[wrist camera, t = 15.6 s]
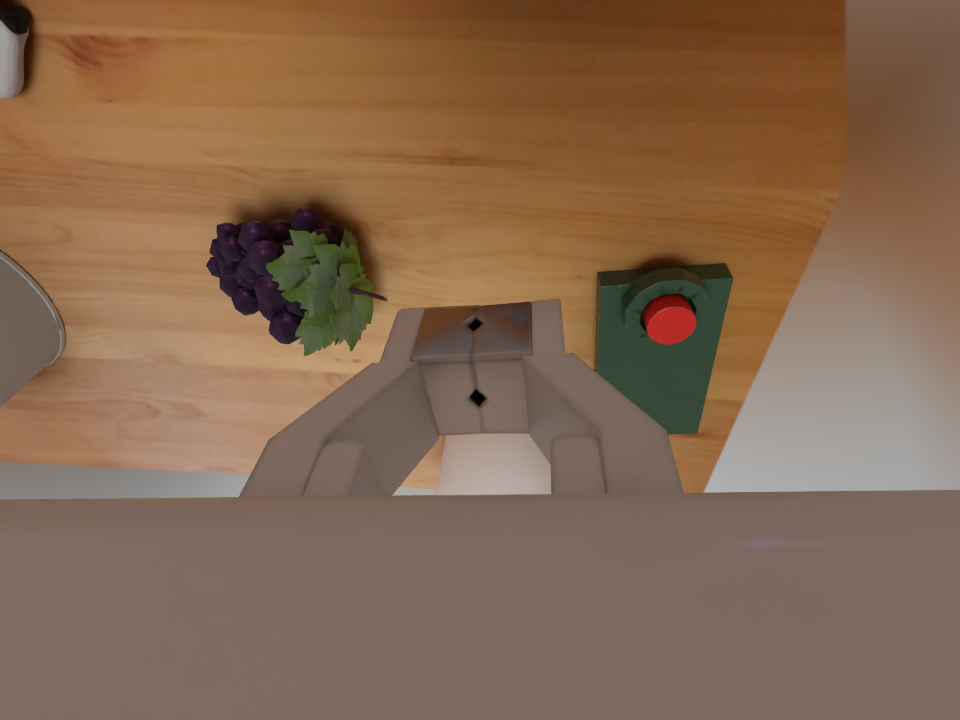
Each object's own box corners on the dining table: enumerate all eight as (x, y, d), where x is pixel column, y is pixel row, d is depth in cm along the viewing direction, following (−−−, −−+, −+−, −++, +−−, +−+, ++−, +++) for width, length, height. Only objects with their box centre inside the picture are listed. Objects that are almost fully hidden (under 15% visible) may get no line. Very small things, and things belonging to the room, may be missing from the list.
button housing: (598, 258, 40) (603, 285, 37) (728, 249, 39) (744, 275, 36) (593, 420, 53) (597, 449, 50) (692, 417, 51) (702, 447, 48)
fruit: (249, 185, 42) (411, 211, 38) (268, 300, 47) (411, 332, 44) (142, 212, 33) (337, 250, 30) (181, 348, 39) (349, 394, 35)
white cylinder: (443, 400, 52) (426, 498, 43) (554, 406, 52) (560, 507, 43) (448, 469, 60) (433, 564, 51) (545, 475, 59) (548, 572, 50)
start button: (645, 295, 38) (649, 308, 37) (694, 292, 38) (700, 305, 36) (641, 332, 40) (645, 346, 39) (687, 330, 40) (692, 343, 39)
